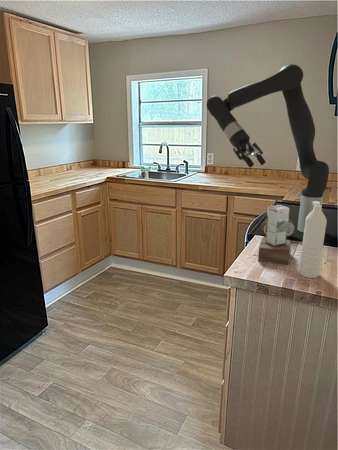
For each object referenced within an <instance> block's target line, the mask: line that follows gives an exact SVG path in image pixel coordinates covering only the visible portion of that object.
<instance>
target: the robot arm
mask: <svg viewBox="0 0 338 450" xmlns="http://www.w3.org/2000/svg"><path fill="white" fill-rule="evenodd" d="M303 78H304V71H303V69H302V68H301V67H300V66H298V64H293V63H292V64H291V63H289V64H285V65H283V66H282V67H281V68H280V70H279V71H278V72H277V73H275V74H273V75H271V76H269V77H267V78H265V79H262V80H259V81H256V82H252V83H250V84H246V85H244V86H240V87H239V88H237V89H234V90H231V91H229V93H227V97H225V98H224V99H222V98H221V97H220V96H218V95H212V96H210V97H208V99H207V100H206V109H207V110H208V112H209V114H210V115H211V116H212V117H213V118H214V119H215V120H216V122H217V124H218V126H219V128H220V129H221V130H222V132H223V133H224V135H225V136H226V139H227V140H228V141H229V142H230V144H231V146H232V147H233V149H232V151H233V152H234V153H235V156H236V157H237V158H238V160H239V161H244V162H245V163H246V165H247V166H248V168H253V167H254V165H255V163H254V162H253V160H252V159H251V157H254V158H255V159H256V160H257V161H258V163H259V164H260V165H261V166H264V165H265V164H266V160H265V158H264V157H263V156H262V155H263V154H264V152H263V150H262V149H261V147H260V146H258V144H257V143H256V142H253V143H252V142H250V140H251V139H250V135H249V134H248V133H247V131H246V130H245V129H244V127H243V126H242V125H241V123H239V122H238V120H237V119H236V117H234V115H233V114H232V113H231V112H232V111H233V110H235V109H236V108H238V107H241V106H244V105H247V104H249V103H252V102H253V101H256V100H258V99H261V98H263V97H265V96H268V95H271V94H275V93H278V92H281V93H282V95H283V98H284V101H285V106H286V110H287V111H286V112H287V117H288V122H289V127H290V130H291V134H292V137H293V141H294V143H295V144H294V145H295V148H296V151H297V157H298V163H299V168H300V173H301V175H302V177H303V178H304V179H307V184H306V185H307V186H306V187H303V188H302V190H301V195H300V203H299V205H300V206H299V211H298V220H297V221H298V222H297V231H299V232H300V233H304V228H305V219H306V217H307V216H308V215H309V213H310V212H311V211H312V210H313V207H314V205H312V203H313V201H318V202H320V205H321V206H322V207H323V199H324V194H325V192H326V189H327V185H328V181H329V175H330V169H329V168H330V167H329V164H328V163H326V162H325V161H322V160H318V159H317V157H316V153H315V150H314V143H315V142H314V141H315V136H316V126H315V122H314V119H313V115H312V112H311V109H310V107H309V105H308V103H307V101H306V99H305V96H304V93H303V88H302V81H303ZM250 156H251V157H250Z"/></svg>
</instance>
